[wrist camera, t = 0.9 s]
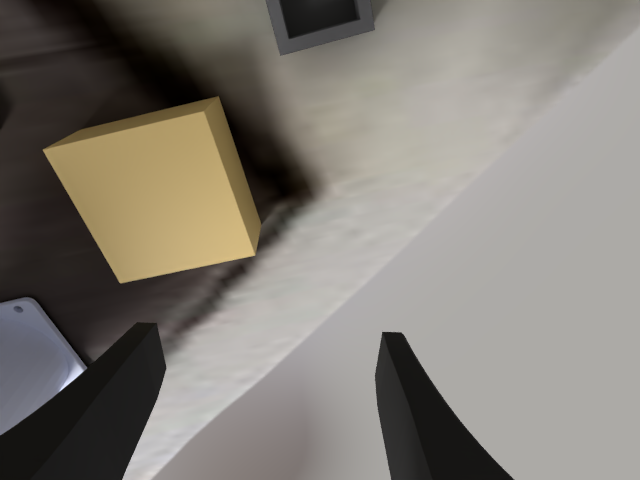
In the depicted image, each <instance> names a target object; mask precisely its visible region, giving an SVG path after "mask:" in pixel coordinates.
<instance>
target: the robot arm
mask: <svg viewBox="0 0 640 480" xmlns="http://www.w3.org/2000/svg"><path fill="white" fill-rule="evenodd" d="M20 307H21V308H20ZM165 371H166V364H165V359H164V355H163V350H162V346H161V341H160V337H159V332H158V328H157V323H140V322H137V323H136V324H135V325H134V326H133V327H132V328H130V329H129V330H128V331H127V332H126V333H125V334H124V335H123V336H122V337H121V338H120V339H119V340H117V341H116V342H115V343H114V344H113V345H112V346H111V347H110V348H109V349H108V350H107V351H106V352H105V353H104V354H102V355H101V356H100V357H99V358H98V359H97V360H96V361H95V362H94V363H92V364H91V365H90V366H89V367H88V368H87V367H86V366H85V364H84V363H83V362H82V360H81V359H80V358H79V356H78V355H77V354H76V353H75V351H74V350H73V349H72V347H71V346H70V345H69V343H68V342H67V341H66V339H65V338H64V337H63V336H62V334H61V333H60V332H59V330H58V329H57V328H56V326H55V325H54V324H53V322H52V321H51V320H50V319H49V317H48V316H47V315H46V313H45V312H44V311H43V309H42V308H41V307H40V305H39V304H38V303H37V302H36V301H35V300H34V299H32V298H29V297H24V298H20V299H16V300H11V301H7V302H3V303H0V480H122V479H123V476H124V474H125V471H126V469H127V466H128V464H129V462H130V460H131V457H132V455H133V453H134V451H135V448H136V446H137V444H138V441H139V439H140V437H141V435H142V432H143V430H144V428H145V426H146V423H147V421H148V419H149V417H150V414H151V412H152V410H153V407H154V405H155V403H156V400H157V398H158V394H159V391H160V388H161V385H162V382H163V378H164V375H165ZM375 381H376V394H377V406H378V412H379V417H380V423H381V428H382V433H383V439H384V443H385V449H386V454H387V459H388V465H389V470H390V475H391V480H514V479H513V478H512V477H511V476H510V475H509V474H508V473H507V472H506V471H505V470H504V469H503V468H502V467H501V466H500V465H499V464H498V463H497V462H496V461H495V460H494V459H493V458H492V457H491V456H490V455H489V454H488V452H487V451H486V450H485V449H484V448H483V447H482V446H481V445H480V444H479V443H478V441H477V440H476V439H475V438H474V437H473V436H472V434H471V433H470V432H469V431H468V430H467V428H466V427H465V426H464V425H463V424H462V422H460V420H459V419H458V417H457V416H456V415H455V414H454V412H453V411H452V409H451V408H450V407H449V405H448V404H447V403H446V402H445V400H444V399H443V397H442V396H441V394H440V393H439V392H438V390H437V389H436V387H435V386H434V384H433V383H432V381H431V380H430V378H429V377H428V375H427V374H426V372H425V370H424V369H423V367H422V366H421V364H420V362H419V361H418V359H417V357H416V356H415V354H414V352H413V351H412V349H411V347H410V345H409V343H408V342H407V340H406V338H405V336H404V335H403V334H402V333H398V332H382V338H381V344H380V350H379V355H378V362H377V367H376V373H375Z"/></svg>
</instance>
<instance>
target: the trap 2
mask: <svg viewBox="0 0 640 480" xmlns="http://www.w3.org/2000/svg"><path fill="white" fill-rule="evenodd" d="M266 4H267V7H268V11H269V15H270V19H271V22H272V26H273V30H274V34H275V37H276V41H277V45H278V48H279V52H280V56H281V55H285V54H289V53H292V52H296V51H300V50H303V49H307V48H311V47H314V46H318V45H322V44H325V43H329V42H332V41H336V40H340V39H343V38H347V37H351V36H354V35H358V34H362V33H365V32H369V31H373V30H375V27H374V20H373V14H372V7H371V1H370V0H266Z"/></svg>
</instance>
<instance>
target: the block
mask: <svg viewBox="0 0 640 480" xmlns="http://www.w3.org/2000/svg"><path fill="white" fill-rule="evenodd" d="M43 151H44V153H45V155H46V157H47V158H48V160H49V162H50V163H51V165H52V167H53V169H54V170H55V172H56V174H57V176H58V177H59V179H60V181H61V182H62V184H63V186H64V188H65V189H66V191H67V193H68V194H69V196H70V198H71V200H72V201H73V203H74V205H75V207H76V208H77V210H78V212H79V213H80V215H81V217H82V219H83V220H84V222H85V224H86V225H87V227H88V229H89V231H90V232H91V234H92V236H93V238H94V239H95V241H96V243H97V244H98V246H99V248H100V250H101V251H102V253H103V255H104V256H105V258H106V260H107V262H108V263H109V265H110V267H111V269H112V270H113V272H114V274H115V275H116V277H117V279H118V281H119V282H120V283H125V282H130V281H135V280H140V279H144V278H149V277H154V276H159V275H164V274H168V273H173V272H178V271H183V270H188V269H192V268H197V267H202V266H207V265H212V264H216V263H221V262H226V261H231V260H236V259H241V258H245V257H250V256H255V254H256V249H257V244H258V239H259V234H260V229H261V222H260V219H259V216H258V213H257V210H256V207H255V204H254V201H253V198H252V195H251V192H250V189H249V186H248V183H247V180H246V177H245V174H244V171H243V168H242V165H241V162H240V159H239V156H238V153H237V150H236V147H235V144H234V141H233V138H232V135H231V132H230V129H229V126H228V123H227V120H226V117H225V114H224V111H223V108H222V105H221V102H220V99H219V96H218V97H213V98H209V99H205V100H201V101H197V102H193V103H189V104H184V105H180V106H176V107H172V108H168V109H164V110H160V111H156V112H151V113H147V114H143V115H139V116H135V117H131V118H127V119H122V120H118V121H114V122H110V123H106V124H102V125H98V126H93V127H89V128H85V129H81V130H79V131H77V132H75V133H73V134H71V135H69V136H67V137H65V138H64V139H62V140H60V141H58V142H56V143H54V144H52V145H51V146H49V147H47V148H45V149H43Z"/></svg>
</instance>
